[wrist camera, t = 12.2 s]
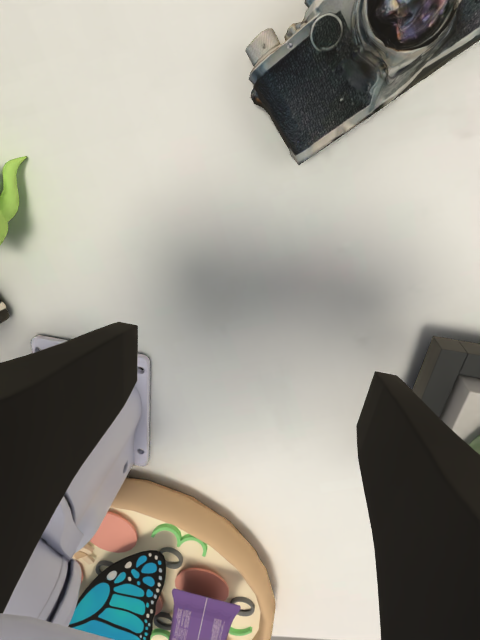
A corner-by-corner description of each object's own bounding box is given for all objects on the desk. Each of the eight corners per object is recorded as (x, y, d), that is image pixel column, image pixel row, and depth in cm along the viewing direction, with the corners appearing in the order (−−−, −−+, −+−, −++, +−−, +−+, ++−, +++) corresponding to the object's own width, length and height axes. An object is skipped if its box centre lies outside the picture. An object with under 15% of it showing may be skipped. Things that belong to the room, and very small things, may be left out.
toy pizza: (244, 715, 36) (0, 646, 38) (247, 676, 39) (20, 613, 40) (309, 549, 25) (-34, 461, 27) (308, 510, 28) (-3, 433, 30)
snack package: (165, 650, 33) (221, 666, 33) (157, 678, 31) (216, 695, 31) (176, 573, 28) (243, 591, 27) (168, 602, 26) (239, 621, 26)
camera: (234, 67, 17) (214, 45, 13) (473, -135, 13) (539, -244, 10) (292, 169, 18) (289, 175, 15) (524, 11, 15) (599, -35, 11)
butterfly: (180, 527, 30) (151, 569, 25) (199, 695, 30) (173, 770, 25) (-20, 523, 34) (-78, 558, 29) (-5, 669, 34) (-60, 729, 29)
